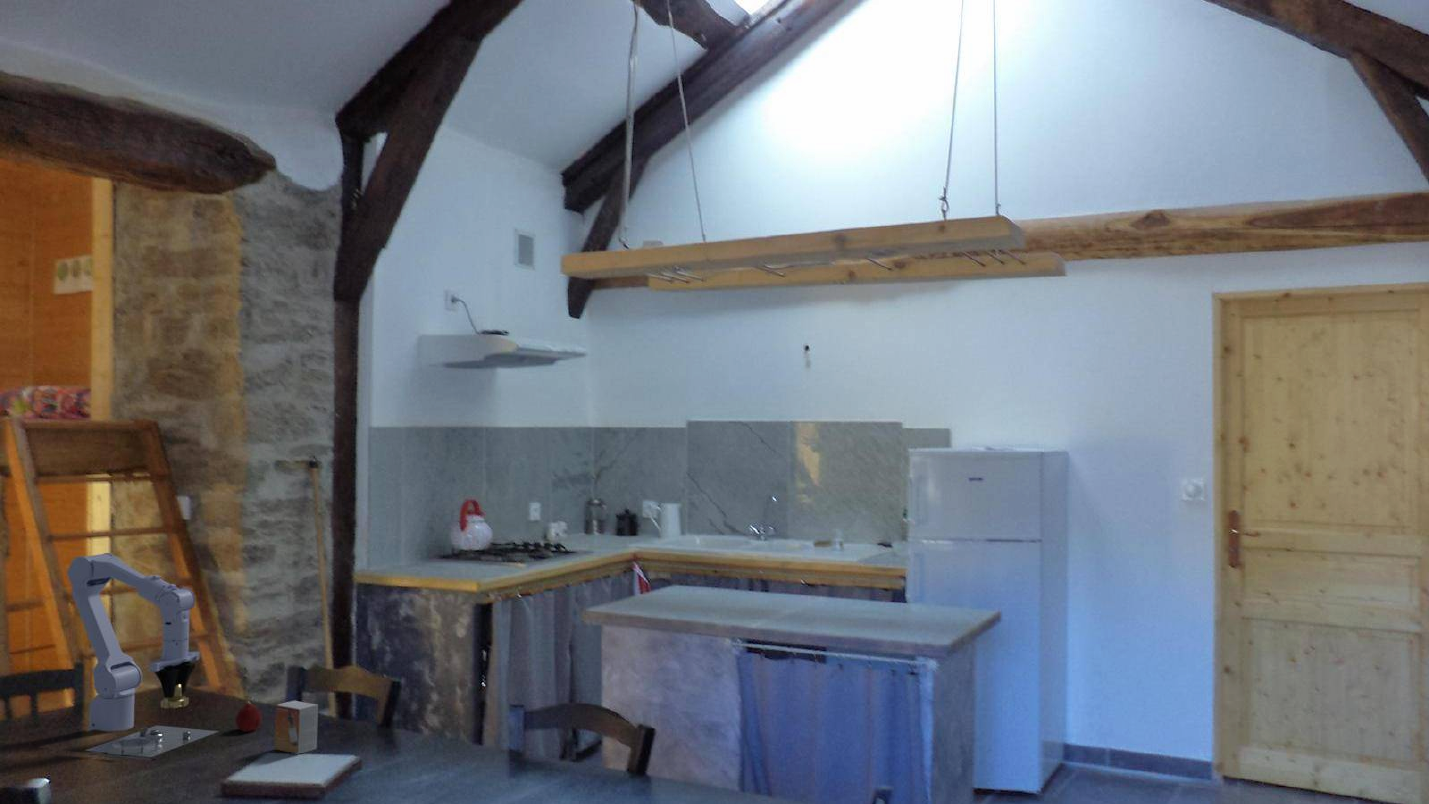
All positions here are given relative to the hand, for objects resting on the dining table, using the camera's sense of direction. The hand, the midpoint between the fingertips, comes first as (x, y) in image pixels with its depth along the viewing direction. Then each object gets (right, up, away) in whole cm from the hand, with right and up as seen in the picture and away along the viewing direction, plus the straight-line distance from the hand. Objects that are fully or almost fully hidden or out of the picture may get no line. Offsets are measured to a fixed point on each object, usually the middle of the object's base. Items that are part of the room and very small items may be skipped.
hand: (174, 695), depth 264 cm
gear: (0, -2, 0) cm, 2 cm away
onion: (+17, -10, +2) cm, 20 cm away
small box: (+33, -10, -10) cm, 36 cm away
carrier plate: (-1, -10, -8) cm, 12 cm away
